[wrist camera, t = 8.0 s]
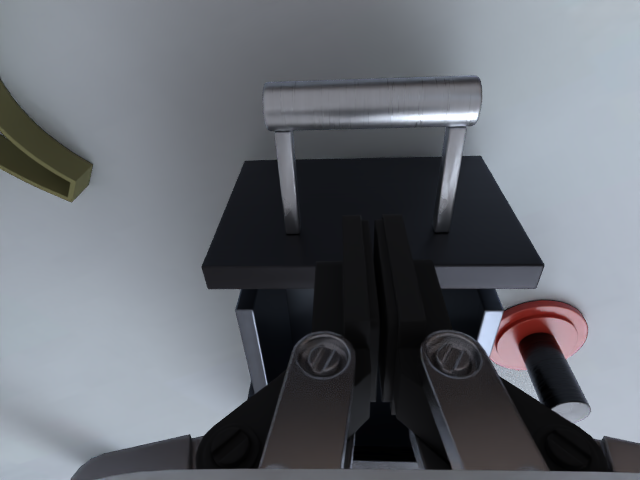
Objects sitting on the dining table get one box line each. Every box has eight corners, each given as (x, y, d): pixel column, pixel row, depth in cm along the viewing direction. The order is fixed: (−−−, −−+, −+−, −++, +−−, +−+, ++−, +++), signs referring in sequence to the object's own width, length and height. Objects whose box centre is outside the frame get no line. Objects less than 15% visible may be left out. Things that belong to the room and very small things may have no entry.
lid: (462, 345, 33) (484, 423, 28) (530, 286, 29) (571, 364, 24) (533, 374, 35) (566, 453, 30) (607, 322, 31) (659, 402, 26)
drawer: (224, 40, 20) (156, 110, 12) (506, 30, 19) (605, 97, 12) (275, 346, 32) (256, 465, 25) (442, 347, 32) (471, 471, 25)
